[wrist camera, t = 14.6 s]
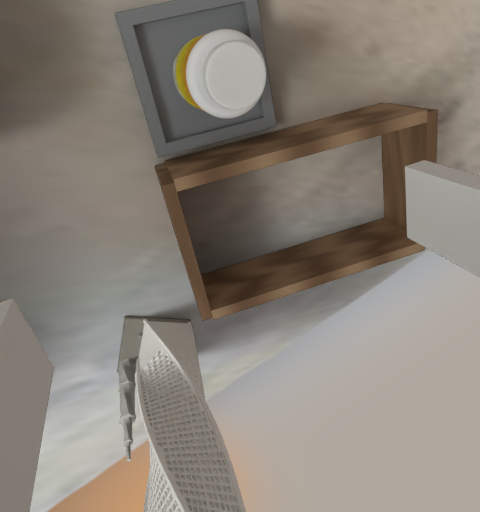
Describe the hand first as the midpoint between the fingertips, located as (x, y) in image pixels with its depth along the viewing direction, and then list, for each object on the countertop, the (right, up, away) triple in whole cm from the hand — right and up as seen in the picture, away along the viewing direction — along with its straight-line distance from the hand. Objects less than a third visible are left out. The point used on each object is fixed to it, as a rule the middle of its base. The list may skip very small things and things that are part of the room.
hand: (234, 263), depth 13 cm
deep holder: (+5, +6, +28) cm, 30 cm away
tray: (-3, +16, +22) cm, 27 cm away
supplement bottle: (-3, +16, +21) cm, 26 cm away
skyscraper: (-9, -9, +32) cm, 34 cm away
